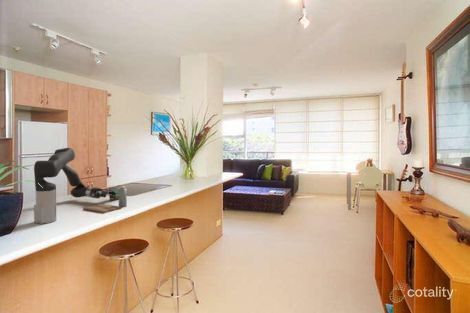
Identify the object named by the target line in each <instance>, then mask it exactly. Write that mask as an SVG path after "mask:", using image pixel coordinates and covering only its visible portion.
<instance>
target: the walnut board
mask: <svg viewBox="0 0 470 313" xmlns="http://www.w3.org/2000/svg"><path fill="white" fill-rule="evenodd" d="M121 209H122V207H119V205H112V204H111V205H110V204H105V203H100V204H95V205H92V206H87V207H83V209H82V210H83V211H85V212H86V211H88V212H91V213H92V212H94V213H99V214H106V213H110V212H113V211H118V210H121Z"/></svg>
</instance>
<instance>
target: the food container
mask: <svg viewBox="0 0 470 313" xmlns="http://www.w3.org/2000/svg"><path fill="white" fill-rule="evenodd" d="M121 186H122V185H121V184H118V185H117V186H113V187H112V186H111V187H109V186H108V190H111V191H114V192H116V195H108V196H109V197H108V198H109V201H111V202H112V201H119V189H120V187H121Z"/></svg>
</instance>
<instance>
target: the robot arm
mask: <svg viewBox="0 0 470 313" xmlns="http://www.w3.org/2000/svg"><path fill="white" fill-rule="evenodd" d="M75 157H76V154H75V150H74V149H73V148H71V147H65V148H64V147H63V148H58V149H56V150H54V154H53V155H51V156H49V158H48V160H36V161H35V163H34V165H33V166H34V167H33V172H34V186H35V188H34V189H35V204H33V220H34V221H33V222H34V224H35V223H36V224H40V225H42V224H49V223H53V222H56V221H57V186H56V183H53V182H49V181H47V180H45V179H46V178H56V177H57V176H58V175H59V174H60V173H61V170H62V172H64V175H65V176H66V179H67V181H68V183H69V185H70V186H71V187H73V188H72V189H71V190H70V194H71V196H72V197H74V198H84V197H88V198H92V199H100V198H106V197H107V196H109V195H116V192H114V191H111V190H106V189H105V190H104V189H102V188H101V187H97V186H95V187H93V186H86V185H85V184H84V183H83V182H82V180H81V179H80V176H79V174H78V172H77V171H76V170H74V169H73V168H71V167H70V166H69V165H68V164H69V163H70V162H72V161H74V160H75ZM38 183H39V184H40V185H41V186H42V187H43V188H42V187H41V186H40V185H39V184H38Z"/></svg>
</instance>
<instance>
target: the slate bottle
mask: <svg viewBox="0 0 470 313" xmlns="http://www.w3.org/2000/svg"><path fill="white" fill-rule="evenodd" d="M127 197H128V196H127V188H126V186H122V185H121V187H120V189H119V200H118V206H119V207H121V208H126V207H127V206H128V205H127V203H128V202H127V199H128V198H127Z"/></svg>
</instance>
